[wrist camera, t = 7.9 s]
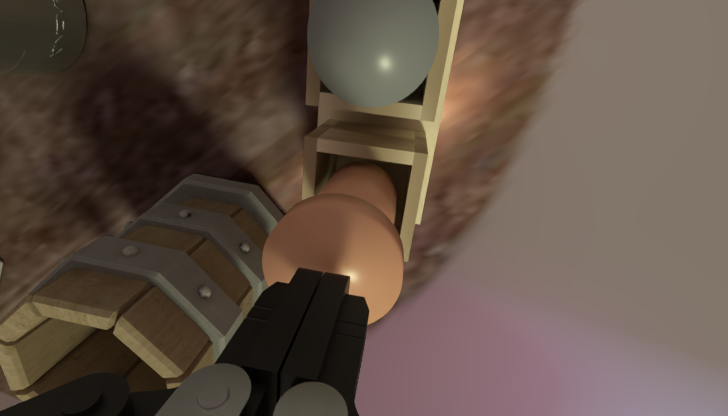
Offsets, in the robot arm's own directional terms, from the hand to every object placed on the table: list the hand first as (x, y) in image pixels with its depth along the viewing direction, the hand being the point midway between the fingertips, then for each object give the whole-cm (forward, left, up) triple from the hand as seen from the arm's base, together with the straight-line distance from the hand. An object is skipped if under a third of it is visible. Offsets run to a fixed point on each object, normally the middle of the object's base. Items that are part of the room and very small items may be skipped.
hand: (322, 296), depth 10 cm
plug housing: (-1, +3, -16) cm, 16 cm away
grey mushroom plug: (-2, +7, -12) cm, 14 cm away
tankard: (-10, -16, -16) cm, 25 cm away
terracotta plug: (0, 0, -8) cm, 8 cm away
